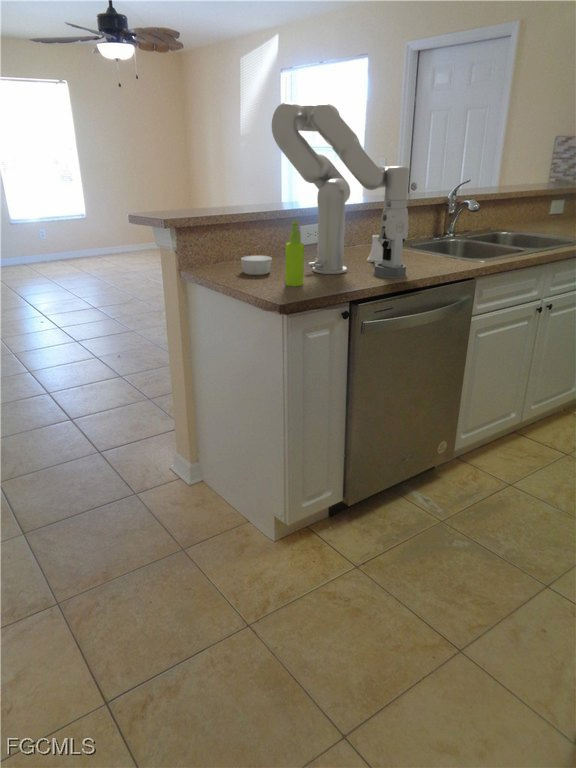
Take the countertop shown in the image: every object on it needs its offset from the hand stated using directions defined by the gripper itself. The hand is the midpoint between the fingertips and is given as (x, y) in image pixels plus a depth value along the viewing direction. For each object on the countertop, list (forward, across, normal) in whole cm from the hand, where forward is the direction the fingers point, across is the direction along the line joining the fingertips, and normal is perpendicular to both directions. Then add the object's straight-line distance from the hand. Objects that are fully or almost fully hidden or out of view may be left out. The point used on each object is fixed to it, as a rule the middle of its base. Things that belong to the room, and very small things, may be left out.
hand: (391, 258), depth 194 cm
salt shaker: (+6, +15, +21) cm, 26 cm away
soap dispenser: (+6, -36, +10) cm, 38 cm away
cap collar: (+6, 0, 0) cm, 6 cm away
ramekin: (+6, -36, +32) cm, 48 cm away
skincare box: (+3, 0, 0) cm, 3 cm away
